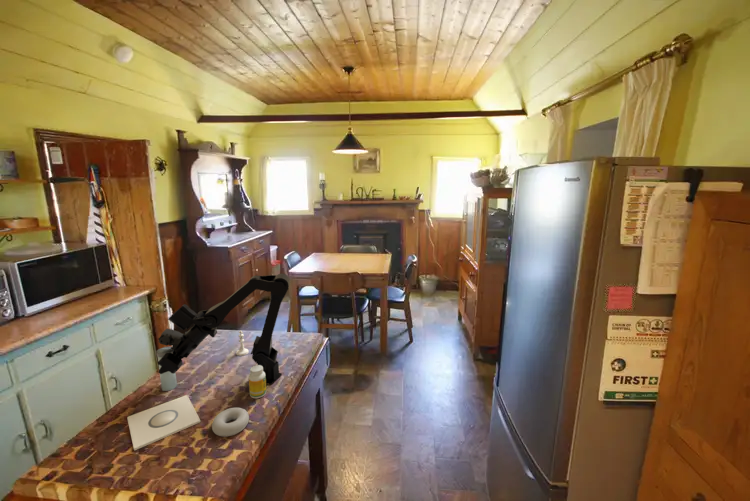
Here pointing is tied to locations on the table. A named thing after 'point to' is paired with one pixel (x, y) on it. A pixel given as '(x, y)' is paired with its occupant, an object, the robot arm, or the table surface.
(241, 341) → the chess piece
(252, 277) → the robot arm
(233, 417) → the donut
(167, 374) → the tube
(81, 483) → the table surface
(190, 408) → the card
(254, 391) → the supplement bottle
